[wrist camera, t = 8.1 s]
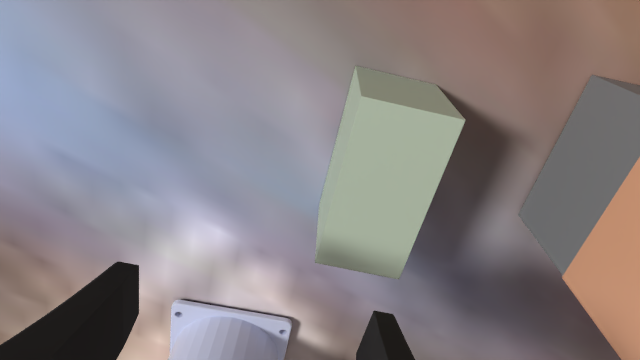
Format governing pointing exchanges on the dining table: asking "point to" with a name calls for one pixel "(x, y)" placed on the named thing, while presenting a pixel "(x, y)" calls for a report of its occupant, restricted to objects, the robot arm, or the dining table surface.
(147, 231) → the dining table surface
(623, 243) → the terracotta block
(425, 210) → the sage block
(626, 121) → the charcoal block
